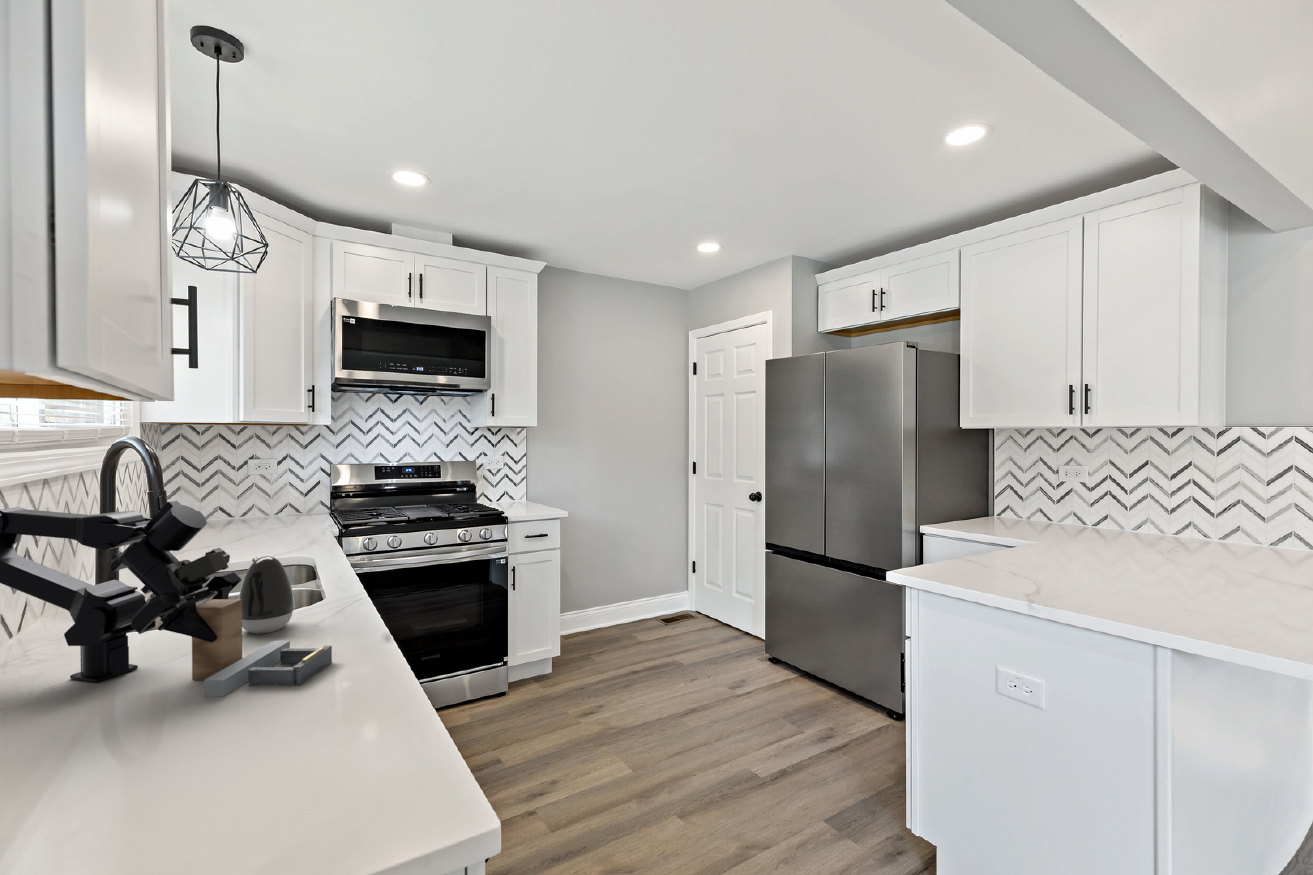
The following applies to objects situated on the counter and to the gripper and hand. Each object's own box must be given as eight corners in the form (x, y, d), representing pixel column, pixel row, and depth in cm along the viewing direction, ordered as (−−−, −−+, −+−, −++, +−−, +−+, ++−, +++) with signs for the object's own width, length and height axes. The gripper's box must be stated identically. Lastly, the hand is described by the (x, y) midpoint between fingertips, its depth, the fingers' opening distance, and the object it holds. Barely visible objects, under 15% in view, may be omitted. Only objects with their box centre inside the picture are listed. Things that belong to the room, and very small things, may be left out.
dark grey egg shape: (280, 618, 136) (280, 549, 136) (303, 627, 130) (303, 555, 130) (227, 631, 128) (226, 557, 128) (249, 641, 122) (248, 563, 122)
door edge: (203, 696, 97) (203, 680, 97) (273, 654, 115) (273, 640, 115) (223, 696, 97) (223, 680, 97) (289, 654, 115) (289, 640, 115)
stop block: (192, 679, 104) (191, 607, 103) (213, 668, 109) (212, 599, 108) (222, 679, 104) (222, 607, 103) (242, 667, 109) (241, 599, 108)
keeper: (248, 685, 101) (248, 664, 101) (284, 662, 111) (284, 643, 111) (300, 685, 101) (300, 664, 101) (331, 662, 111) (331, 643, 111)
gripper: (149, 546, 96) (222, 617, 97) (230, 527, 115) (291, 587, 115) (98, 597, 96) (171, 668, 97) (187, 570, 115) (248, 629, 115)
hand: (225, 634), depth 106 cm, fingers closed on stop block, 5 cm apart
